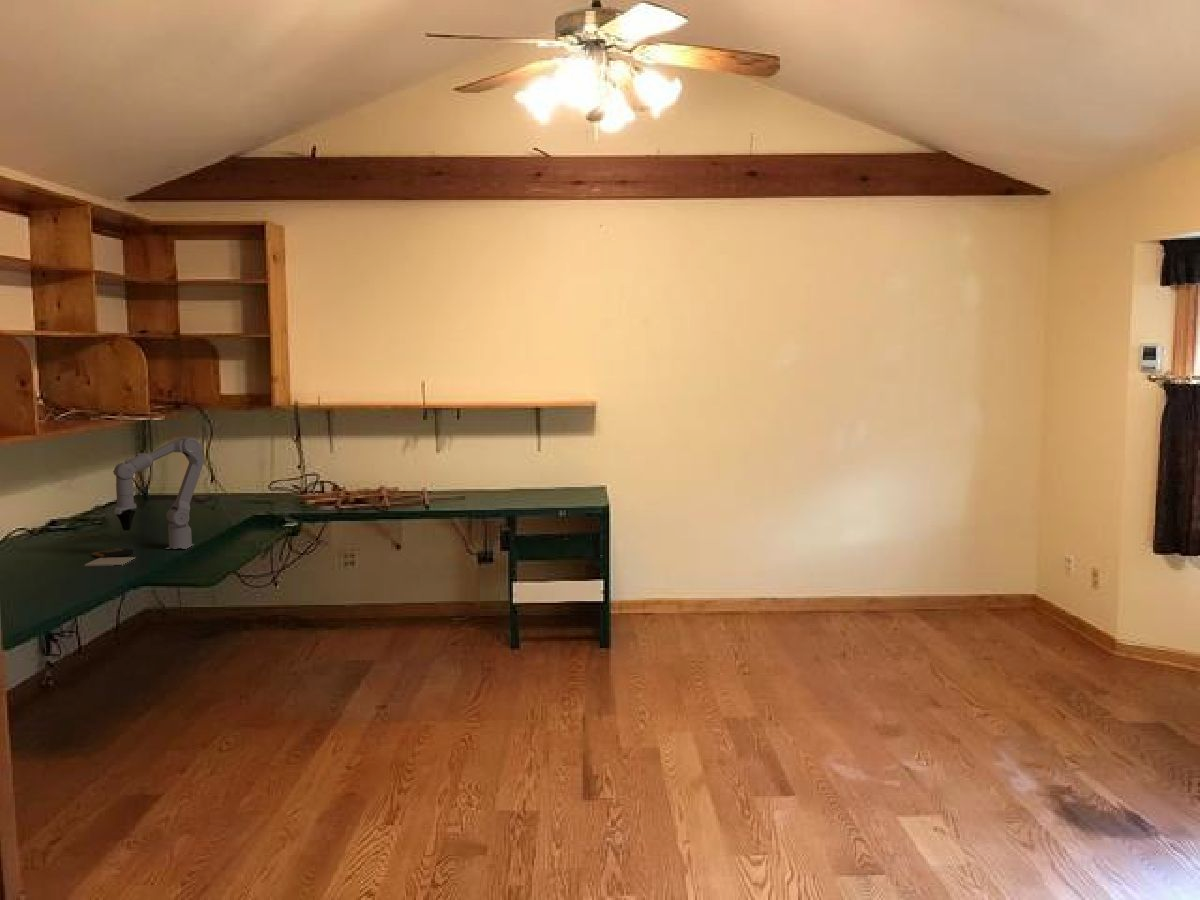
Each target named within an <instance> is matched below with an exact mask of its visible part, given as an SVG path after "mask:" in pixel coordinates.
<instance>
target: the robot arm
mask: <svg viewBox="0 0 1200 900" xmlns="http://www.w3.org/2000/svg"><path fill="white" fill-rule="evenodd" d="M172 453H181V454H183V455H184V456H185V458H186V459H187V461H188V464H187V466H186V467H187V468H186V471H185V474H184V476H183V479H182V481H181V485H180V488H179V491H178V493H177V496H176V498H175V501H174V502H173V503H172V505H171V507H170V509H168V510H167V512H166V516H165V517H166V520H167V522H168V525H167V526H168V527H167V530H168V531H167V532H168V547H166V548H165V549H170V548H173V549H177V548H182V549H186V550H187V548H188V549H190V548H191V546H192V547H194V546H195V543H193V540H192V539H193V538H192V528H191V527H190V526H189V521H190V513H191V505H190V503H191V501H192V498H193V495H194V493H195V489H196V487H197V483H198V481H199V478H200V475H201V472H202V470H203V467H204V463H205V457H204V453H203V446H202V444H201V442H200V441H199V440H198V439H197V438H194V437H189V436H180V437H179V438H177V439H173V440H172V441H170V442H168V443H166V444H164V445H163V446H160V447H158V448H157V449H154V450H153V451H151V452H150V453H145V452H142V453H141V452H138V453H137V454H136V456H134V457H132V458H130V459H125V460H124V462H121V463H117V465H116V466H114V470H113V471H112V472H113V475H114V476H115V481H116V482H115V488H116V489H115V491H116V494H115V495H116V505H115V506H113V509H114V510H113V511H114V515H116V516H117V518H118V520H119V522H120V524H121V528H122V530H123V531H130V530H131V527H132V523H133V519H134V517H135V514H136V509H137V508H138V507H137V503H136V502H135V501H134V500H135V498H134V482H133V477H134V476H135V474H138V473H140V472H142V471H144V470H146V469H147V468H150V467H151V466H152V465H153V462H154V461H156V460H159V459H160V458H161V459H162V458H164V457H165V456H167V455H170V454H172ZM133 509H134V510H133ZM193 545H194V546H193ZM189 547H190V548H189Z"/></svg>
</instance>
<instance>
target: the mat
mask: <svg viewBox="0 0 1200 900" xmlns="http://www.w3.org/2000/svg"><path fill="white" fill-rule="evenodd" d="M135 558H136V559H137V557H136V556H133V557H130V556H128V557H126V556H125V557H124V556H123V557H122V556H116V557H109V558H101V557H98V558H96V559H94V560H92V561H89V562H87V563H85V564H84V567H115V566H114V565H122V566H124V565H126V564H128V563H130V562H132V561H131V560H133V559H135ZM136 559H135V560H136ZM129 561H130V562H129ZM133 561H134V560H133ZM127 562H128V563H127ZM125 563H126V564H125ZM123 564H124V565H123Z"/></svg>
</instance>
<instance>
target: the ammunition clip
mask: <svg viewBox="0 0 1200 900" xmlns="http://www.w3.org/2000/svg"><path fill="white" fill-rule="evenodd" d="M91 554H92V556H95V557H98V558H113V557H122V556H123V557H124V556H129V555H134V550H133V548H116V549H110V550H103V551H97V552H92V553H91Z"/></svg>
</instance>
